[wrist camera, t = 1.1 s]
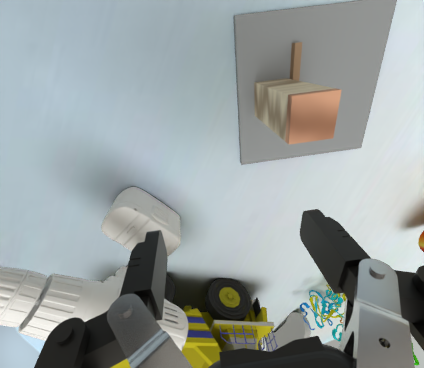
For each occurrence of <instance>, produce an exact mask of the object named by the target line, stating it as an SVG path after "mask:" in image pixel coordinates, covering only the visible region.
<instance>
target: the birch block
mask: <svg viewBox="0 0 424 368" xmlns="http://www.w3.org/2000/svg"><path fill="white" fill-rule="evenodd" d="M341 91H342V90H341V89H336V88H331V87H326V86H321V85H317V84H312V83H307V82H302V81H297V80H292V79H287V78H285V79H277V80H270V81H262V82H254V98H255V116H256V117H257V118H258V119H259V120H260V121H262V122H263V123H264V124H265V125H266V126H267V127H269V128H270V129H271V130H272V131H273V132H274V133H276V134H277V135H278V136H279V137H280V138H282V139H283V140H284V141H285V142H286V143H287V144H297V143H304V142H311V141H318V140H325V139H333V137H334V131H335V125H336V120H337V114H338V108H339V102H340V96H341Z"/></svg>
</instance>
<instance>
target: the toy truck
mask: <svg viewBox="0 0 424 368" xmlns="http://www.w3.org/2000/svg"><path fill="white" fill-rule="evenodd" d="M174 295H175V286H174V283H173V281H172V279H171V278H170V277H169V276H168V275H167V274H166V283H165V294H164V298H165V299H166V300H167V301H169V302H171V303H172V301H173V298H174ZM205 304H206V308H207V311H208V312H199V310H198V309H197V308H196V309H192V308H191V306H185V307H184V309H183V311H184V313H185V314H186V316H187V320H188V334H187V338H186V342H185V344H184V347H183V349H182V351H181V352H182V353H183V355H184V356H185V357H186V359H187V360H188V362H189V363H190V364H191V366H192V367H193V368H208V367H209V366H211V365H212V364H214V363H215V362H217V361H219V360H220V355H219V352H223V351H229V350H235V349H241V348H247V349H254V350H262V351H263V349H264V348H265V346H264V348H263V349H262V347H261V345H262V344H263V343H264V337H265V340H266V337H267V336H269V334H270V332H271V331H272V329H273V328H274V323H273V322H267V311H266V308H264V307H262V308H261V309H260V303H259V300H258V298H256V300H250V296H249V294H248V292H247V291H246V289H245V288H244V287H243V286H242V285H241V284H240V283H239V282H237V281H235V280H233V279H228V278H220V279H217V280H215V281H214V282H213V283H212V284H211V286H210V288H209V291H208V293H207V295H206V302H205ZM272 334H273V331H272ZM261 337H263V343H262V338H261ZM273 339H274V340H275V336H274V334H273V338H272V340H273ZM269 340H270V336H269ZM272 340H270V342H269V343H271V341H272ZM269 343H267V341H266V344H267V348H268V344H269ZM275 343H276V341H275ZM271 346H272V343H271ZM277 347H278V345H277V344H276V348H277ZM276 348H275V349H276ZM275 349H274V350H275ZM272 350H273V347H272ZM274 350H273V351H274ZM268 351H269V348H268ZM269 352H270V351H269ZM111 368H131V367H130V365H129V362H128V360H127V359H125V360H124V361H122V362H120V363H118V364H116V365H114V366H112V367H111Z"/></svg>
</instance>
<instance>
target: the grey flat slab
mask: <svg viewBox="0 0 424 368" xmlns="http://www.w3.org/2000/svg"><path fill="white" fill-rule="evenodd" d="M303 318H304V319H305V321H306V322H307V323H308V324H309V322H308V320H307V318H306V317H304V315H303V314H301V313H297V312H292V313H291V314H289V316H288V317H287V320H286V322H285V324H284V325H283V326H282V327H280V328H279V329H278V330H277V331H276V332H273V334H274V336H275V340H274V339H273V340H272V338H273V334H272V333H270V334H269V336H270V340H272V341H271V343H272V346H271V343H269V342H270V340H269V336H268V337H267V343H269V344H268V348H269V351H270V352H271V351H273V350H274V349H275V348H276V344H277V345H278V347H277V348H276V349H278V348H280V347H282V346H284V345H285V344H287V343H289V342H291V341H293V340H297V339H303V338H309V337H310V327H309V325H308V324H307V323H306V322H305V321H304V319H303ZM275 341H276V343H275ZM272 347H273V350H272ZM268 348H267V344H266V351H268ZM276 349H275V350H276Z"/></svg>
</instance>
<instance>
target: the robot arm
mask: <svg viewBox="0 0 424 368" xmlns="http://www.w3.org/2000/svg"><path fill="white" fill-rule="evenodd" d="M300 237H301V240H302V242H303V244H304V245H305V247H306V249H307V250H308V252H309V253H310V255H311V257H312V258H313V260H314V261H315V263H316V265H317V266H318V268H319V269H320V271H321V273H322V274H323V276H324V277H325V279H326V281H327V282H328V284H329V285H330V287H331V289H332V290H333V292H334V293H335V294H338V293H344V294H345V295H346V297H347V298H346V301H345V310H344V319H343V329H342V337H341V342H340V346H339V349H337V348H334V347H331V346H328V345H324V344H322V343H321V341H320V339H319V337H318V336H315V337H309V338H303V339H297V340H293V341H291V342H289V343H287V344H285V345H284V346H282V347H280V348H278V349H276V350H274V351H271V352H269V351H262V350H254V349H247V348H241V349H235V350H229V351H223V352H219V355H220V360H219V361H217V362H215V363H214V364H212V365H211V366H209V367H208V368H415V367H414V358H413V350H412V342H411V335H410V333H411V334H412V336H413V337H414V338H415V340H416V341H417V342H418V344H419V345H420V346H421V348H422V349H423V350H424V266H421V267H419V268H418V270H417V271H416V273H411V272H403V271H396V270H393V269H392V268H391V267H390V266H389V265H387V264H386V263H384V262H382V261H379V260H376V259H371V258H370V257H369V256H368V254H367V253H366V252H365V251H364V250H363V249H362V248H361V247H360V246H359V245H358V243H357V242H356V241H355V240H354V239H353V238H352V237H350V235H349V234H348V233H347V231H345V229H344V228H343V227H342V226H341V225H340V224H339V223H338V222H337V221H335V220H333V219H332V218H330V217H325V216H324V215H323V213H322V212H321V211H320V210H318V209H315V210H308V211H304V212H303V215H302V221H301V228H300ZM166 271H167V250H166V246H165V242H164V238H163V235H162V231H161V230H157V231H149V232H147V233H146V237H145V241H144V242H140V243H137V244H136V246H135V247H134V248H133V250H132V252H131V256H130V261H129V263H128V268H127V271H126V274H125V278H124V282H123V285H122V289H121V293H120V296H119V298H117V299H116V300H115V301H114V302H113V303H112V304H111V306H110V307H109V309H108V311H106V312H105V313H103V314H101V315H99V316H96V317H94V318H92V319H90V320H88V321H85V322H84V321H83V320H82V319H81V318H77V317H74V318H69V319H67V320H65V321H63V322H61V323H60V324H59V325H57V326H56V327H55V328H54V329H53V330H52V332H51V333H50V334H49V336H48V337H47V339H46V341H45V344H44V346H43V348H42V351H41V353H40V355H39V358H38V360H37V362H36V365H35V367H34V368H111V367H112V366H114V365H116V364H118V363H120V362H122V361H124V360H125V359H127V360H128V362H129V365H130V367H131V368H193V367H192V366H191V364H190V363H189V362H188V360H187V359H186V357H185V356H184V355H183V353H182V352H181V350H180V349H179V348H178V346H177V345H176V344H175V342H174V341H173V339H172V338H171V337H170V335H169V334H168V333H167V332H166V331H163V330H162V328H161V327H160V325H159V324H158V323H157V321H158V320H162V318H163V306H164V294H165V283H166Z"/></svg>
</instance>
